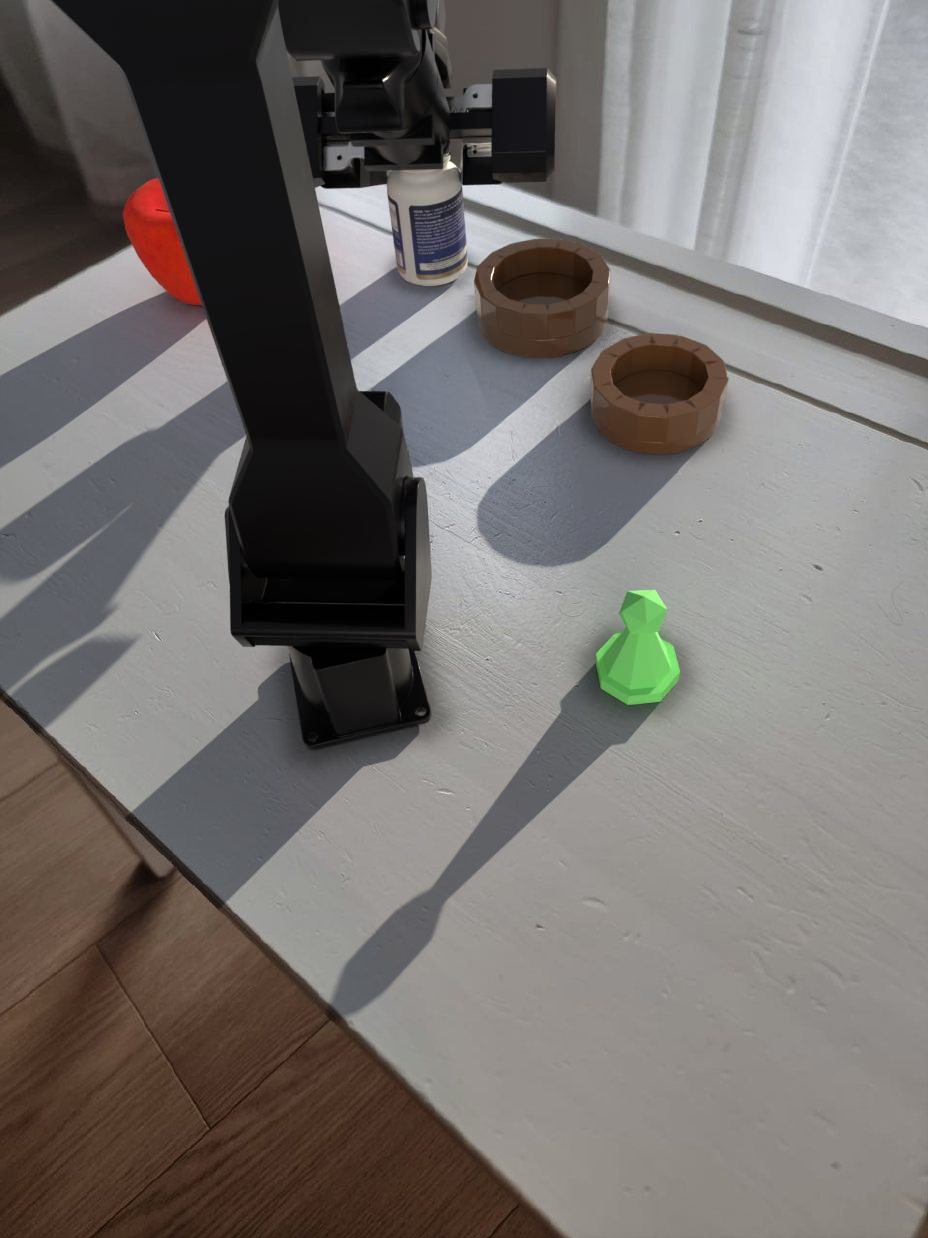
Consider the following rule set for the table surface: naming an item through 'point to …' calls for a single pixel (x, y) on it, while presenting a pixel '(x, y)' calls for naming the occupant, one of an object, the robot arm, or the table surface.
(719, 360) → the small stand
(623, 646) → the game piece
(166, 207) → the apple
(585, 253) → the stand
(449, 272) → the pill bottle
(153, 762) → the table surface
